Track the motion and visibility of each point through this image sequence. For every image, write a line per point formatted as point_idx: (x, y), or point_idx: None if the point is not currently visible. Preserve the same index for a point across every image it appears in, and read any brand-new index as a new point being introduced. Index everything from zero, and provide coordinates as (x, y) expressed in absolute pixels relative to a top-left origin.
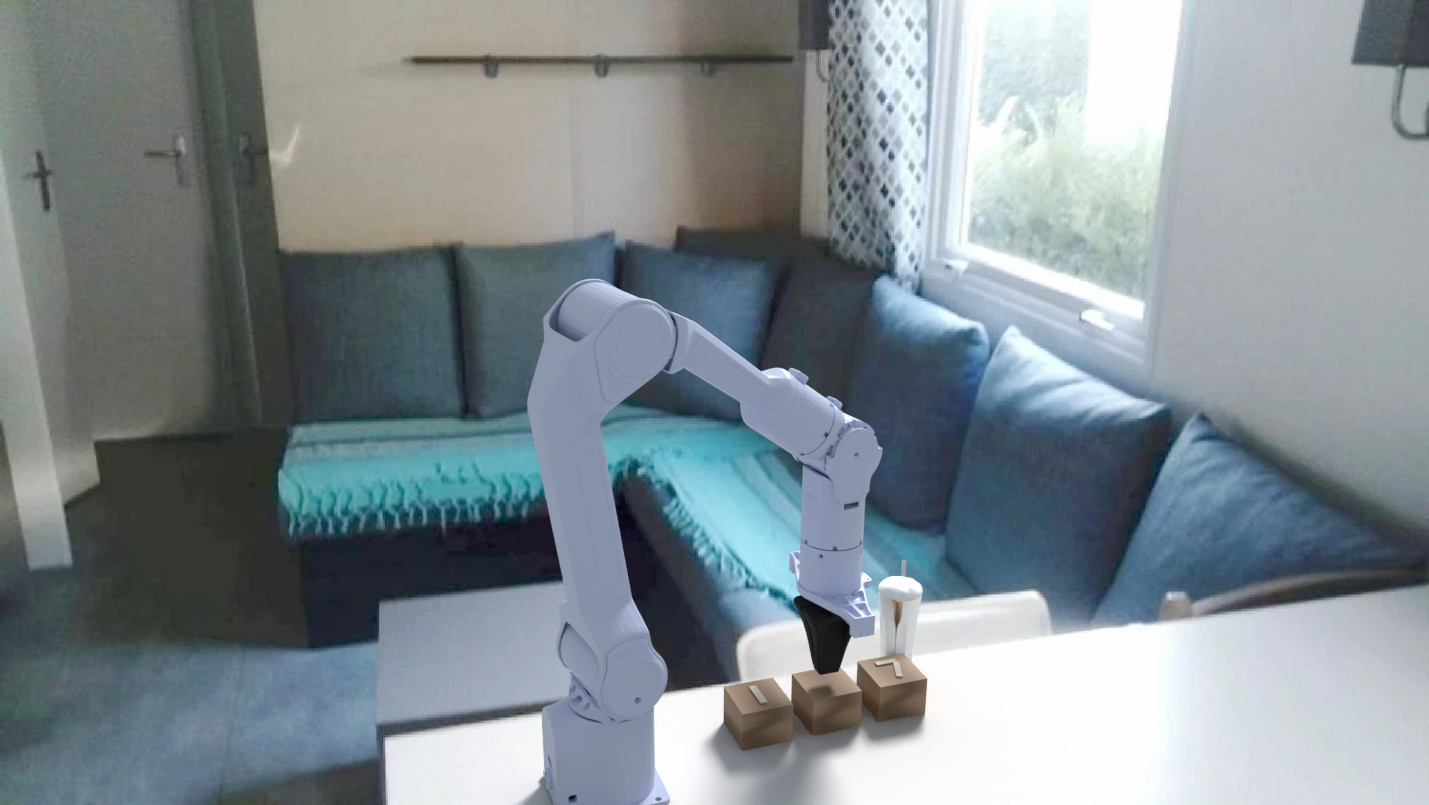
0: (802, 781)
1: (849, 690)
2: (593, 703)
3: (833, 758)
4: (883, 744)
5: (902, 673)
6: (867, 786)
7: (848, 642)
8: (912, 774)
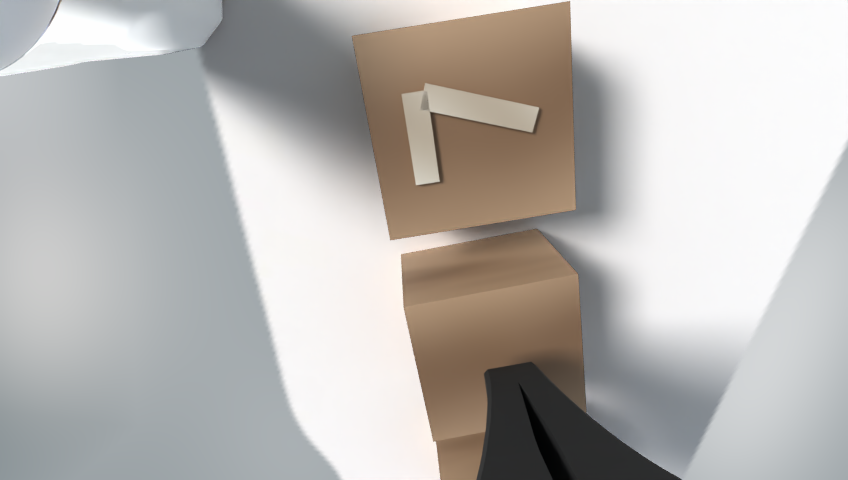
0: (688, 390)
1: (564, 310)
2: None
3: (639, 319)
4: (628, 193)
5: (509, 96)
6: (758, 274)
7: (611, 434)
8: (765, 160)
